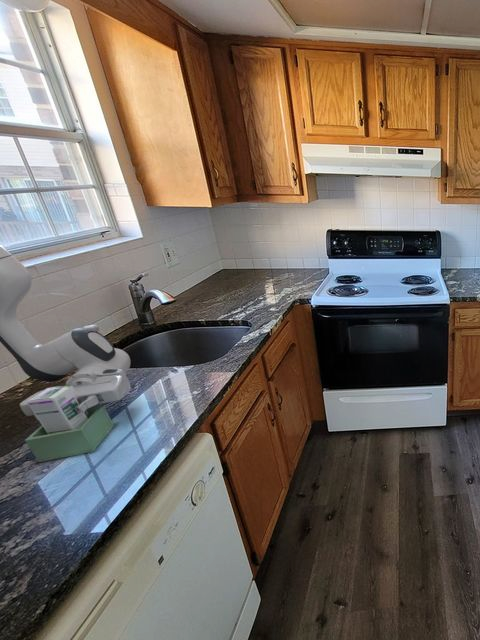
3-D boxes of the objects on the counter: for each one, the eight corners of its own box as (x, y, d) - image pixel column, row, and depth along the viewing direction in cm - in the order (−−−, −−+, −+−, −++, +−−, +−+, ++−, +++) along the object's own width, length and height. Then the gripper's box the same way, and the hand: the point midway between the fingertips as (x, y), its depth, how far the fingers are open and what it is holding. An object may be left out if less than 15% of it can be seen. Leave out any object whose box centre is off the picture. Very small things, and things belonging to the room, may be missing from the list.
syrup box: (83, 446, 90) (54, 397, 84) (56, 449, 89) (25, 400, 83) (99, 431, 95) (73, 384, 89) (74, 434, 94) (46, 387, 88)
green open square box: (93, 451, 89) (81, 429, 86) (38, 462, 86) (24, 440, 83) (114, 425, 98) (103, 405, 95) (65, 434, 95) (53, 414, 92)
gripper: (36, 382, 95) (-4, 412, 83) (129, 368, 101) (104, 393, 89) (48, 402, 98) (10, 434, 86) (138, 387, 103) (114, 415, 91)
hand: (59, 413), depth 87 cm, fingers closed on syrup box, 6 cm apart
